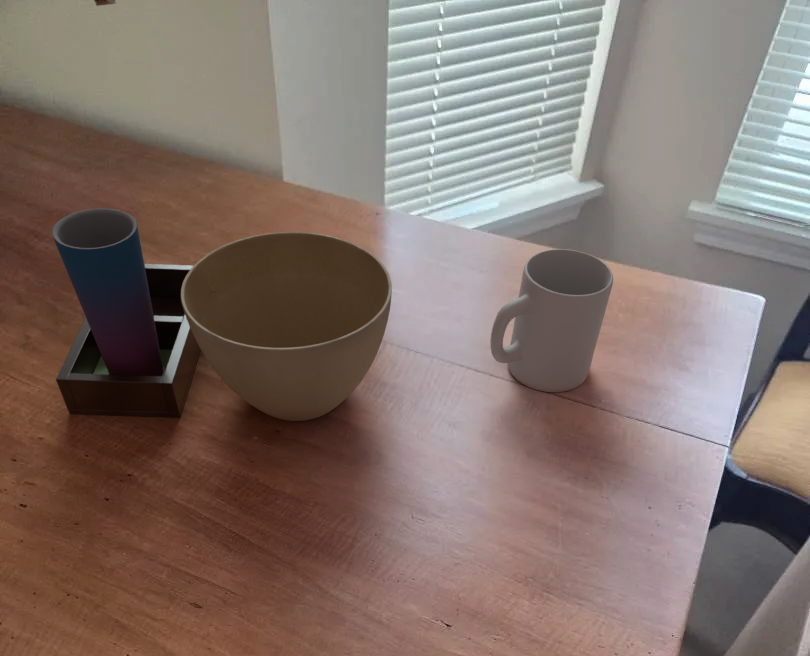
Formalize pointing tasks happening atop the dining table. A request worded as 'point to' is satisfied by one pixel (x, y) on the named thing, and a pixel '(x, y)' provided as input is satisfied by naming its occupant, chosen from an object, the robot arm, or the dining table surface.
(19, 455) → the dining table surface
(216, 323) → the beige bowl
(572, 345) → the mug
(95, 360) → the divided storage box
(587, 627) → the dining table surface
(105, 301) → the cup
